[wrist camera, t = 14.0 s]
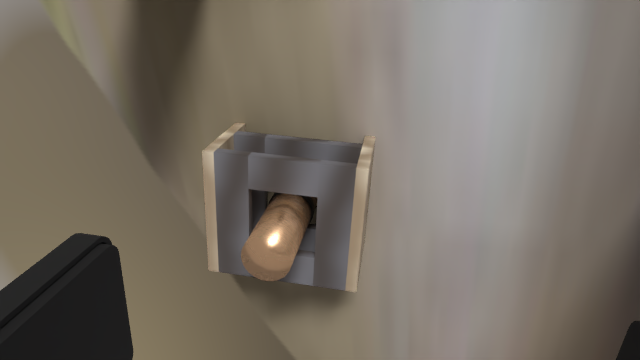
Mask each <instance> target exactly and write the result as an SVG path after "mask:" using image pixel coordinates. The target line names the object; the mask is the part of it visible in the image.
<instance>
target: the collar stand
mask: <svg viewBox="0 0 640 360" xmlns="http://www.w3.org/2000/svg"><path fill="white" fill-rule="evenodd" d="M374 145H375V137H372V136H365V138H364V142H363V144H357V143H347V142H338V141H328V140H319V139H309V138H299V137H290V136H280V135H271V134H261V133H252V132H246V130H245V123H235V124H234V125H232V126H231V127H230V128H229V129H228V130H226V131H225V132H224V133H223V134H222V135H220V136H219V137H218V138H217V139H216V140H215V141H213V142H212V143H211V144H210V145H209V146H207V147H206V148H205V149H204V150H203V151H202V159H203V177H204V195H205V213H206V232H207V249H208V267H209V270H210V271H216V272H223V273H229V274H236V275H243V276H250V277H254V276H253V275H251V274H250V273H249V272H248V271H247V270H246V269H245V267H244V265H243V263H242V260H241V250H242V248H243V246H244V244H245V243H246V241H247V239H248V238H249V236H250V234H251V233H252V231H253V229H254V228H255V226H256V225H257V223H258V221H259V220H260V218H261V216H262V215H263V213H264V212H265V210H266V208H267V191H269V192H277V193H285V194H294V195H302V196H310V197H318V200H317V218H316V224H309V225H308V226H307V229H306V231H305V234H304V236H303V239H302V241H301V244H300V246H299V249H298V251H297V254H296V256H295V259H294V261H293V264H292V266H291V268H290V271H289V272H288V274H287V275H286V276H285V277H283V278H281V279H279V280H277V281H283V282H290V283H297V284H304V285H310V286H317V287H324V288H331V289H337V290H344V291H351V292H356V291H357V285H358V279H359V273H360V267H361V261H362V254H363V248H364V241H365V231H366V222H367V212H368V203H369V193H370V184H371V174H372V165H373V155H374Z"/></svg>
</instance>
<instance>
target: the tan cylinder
mask: <svg viewBox="0 0 640 360" xmlns="http://www.w3.org/2000/svg"><path fill="white" fill-rule="evenodd" d="M317 200H318V197H310V196H302V195H294V194H285V193H277V192H275V194H274V195H273V196H272V198H271V200H270V201H269V204H268V207H267V208H266V210H265V212H264V213H263V215H262V216H261V218H260V220H259V221H258V223H257V225H256V226H255V228H254V229H253V231H252V233H251V234H250V236H249V238H248V239H247V241H246V243H245V244H244V246H243V248H242V250H241V260H242V263H243V265H244V267H245V269H246V270H247V271H248V272H249V273H250V274H251V275H253V276H254V277H256V278H258V279H261V280H264V281H276V280H279V279H281V278H283V277H285V276H286V275H287V274H288V272H289V271H290V268H291V266H292V264H293V261H294V259H295V256H296V254H297V251H298V249H299V246H300V244H301V241H302V239H303V236H304V234H305V231H306V229H307V226H308V225H309V223H310V222H311V219H312V217H313V214H314V209H315V207H316V204H317Z"/></svg>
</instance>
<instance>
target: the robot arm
mask: <svg viewBox="0 0 640 360" xmlns="http://www.w3.org/2000/svg"><path fill="white" fill-rule="evenodd" d="M132 358H133V346H132V339H131V332H130V325H129V318H128V312H127V304H126V298H125V291H124V284H123V277H122V270H121V263H120V257H119V251H118V249H117V247H115V246H114V245H112V243H111V241H110V239H109V238H107V237H104V236H97V235H90V234H83V233H78V234H74V235H72V236H71V237H70V238H68V239H67V240H66V241H64V242H63V243H62V244H60V245H59V246H58V247H57V248H55V249H54V250H53V251H51V252H50V253H49V254H48V255H46V256H45V257H44V258H43V259H41V260H40V261H39V262H37V263H36V264H35V265H33V266H32V267H31V268H30V269H28V270H27V271H25V272H24V273H23V274H21V275H20V276H19V277H18V278H16V279H15V280H14V281H12V282H11V283H10V284H8V285H7V286H6V287H5V288H3V289H2V290H1V291H0V360H132ZM616 360H640V321H634V322H633V323H632V324H631V325H630V327H629V329H628V331H627V334H626V336H625V339H624V341H623V344H622V346H621V348H620V351H619V353H618V356H617V358H616Z"/></svg>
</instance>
